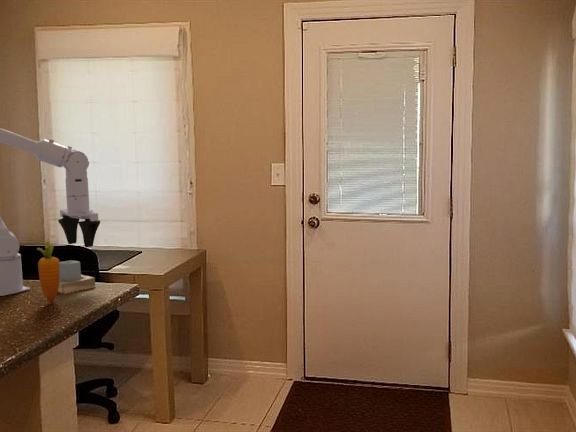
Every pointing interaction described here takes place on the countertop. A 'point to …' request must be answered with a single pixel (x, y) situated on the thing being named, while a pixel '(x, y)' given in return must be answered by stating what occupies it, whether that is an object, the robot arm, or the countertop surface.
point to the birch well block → (76, 284)
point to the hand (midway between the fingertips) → (80, 245)
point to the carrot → (49, 273)
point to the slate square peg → (70, 271)
